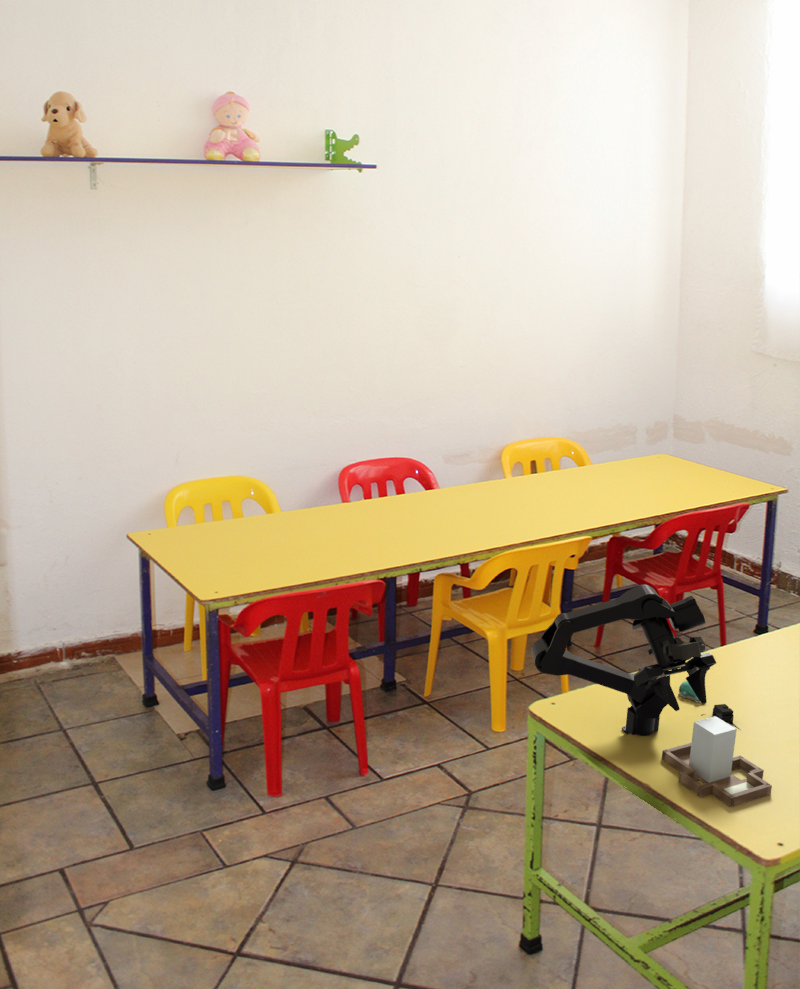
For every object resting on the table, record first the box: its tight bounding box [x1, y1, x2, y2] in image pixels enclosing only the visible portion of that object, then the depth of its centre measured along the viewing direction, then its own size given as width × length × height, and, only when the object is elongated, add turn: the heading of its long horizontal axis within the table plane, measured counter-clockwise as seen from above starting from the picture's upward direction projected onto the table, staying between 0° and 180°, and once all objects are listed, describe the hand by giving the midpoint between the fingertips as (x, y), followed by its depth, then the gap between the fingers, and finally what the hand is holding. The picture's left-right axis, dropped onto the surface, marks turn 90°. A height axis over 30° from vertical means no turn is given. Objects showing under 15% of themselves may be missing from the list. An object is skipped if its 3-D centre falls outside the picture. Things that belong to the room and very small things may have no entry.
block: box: [689, 716, 738, 783], centre depth 205 cm, size 6×6×11 cm
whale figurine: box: [678, 680, 701, 703], centre depth 242 cm, size 6×7×4 cm
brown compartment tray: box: [661, 742, 773, 808], centre depth 205 cm, size 20×17×3 cm
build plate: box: [700, 703, 741, 731], centre depth 229 cm, size 12×7×5 cm, turn 13°
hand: (691, 707), depth 209 cm, fingers open, 7 cm apart
